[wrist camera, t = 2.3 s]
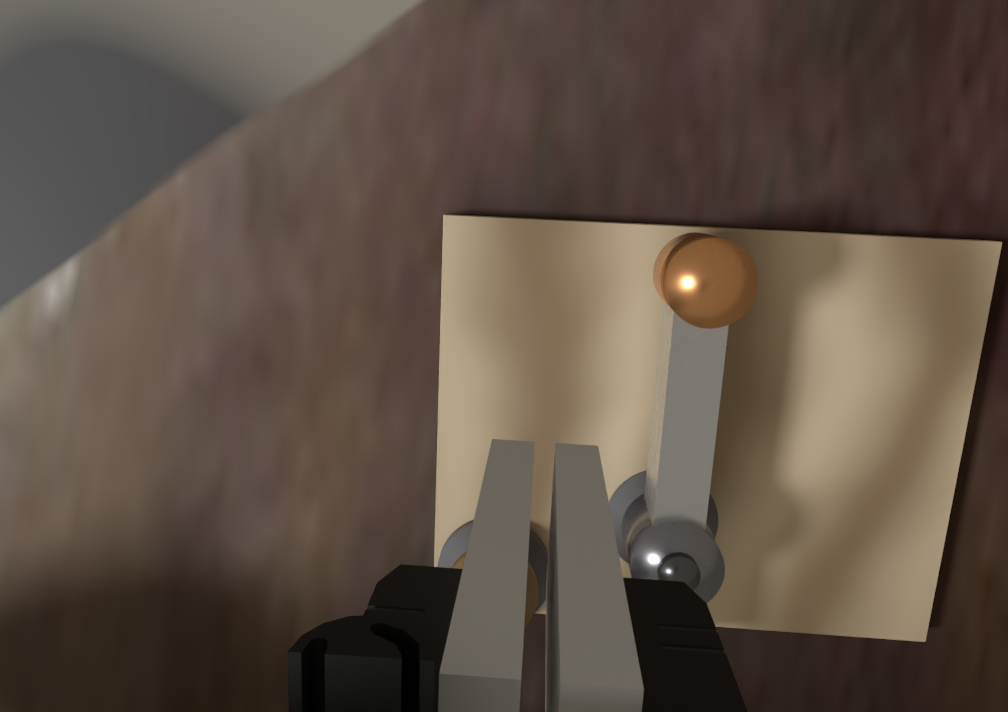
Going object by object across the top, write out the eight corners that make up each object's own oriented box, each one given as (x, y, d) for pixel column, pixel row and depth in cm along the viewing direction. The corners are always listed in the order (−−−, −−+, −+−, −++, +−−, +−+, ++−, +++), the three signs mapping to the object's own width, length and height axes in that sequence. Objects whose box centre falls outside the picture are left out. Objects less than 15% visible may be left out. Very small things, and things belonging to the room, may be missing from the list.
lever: (613, 627, 30) (622, 690, 26) (647, 228, 27) (663, 235, 23) (693, 633, 30) (713, 697, 26) (738, 232, 27) (770, 240, 23)
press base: (436, 601, 32) (418, 668, 28) (446, 214, 29) (428, 219, 24) (912, 636, 31) (972, 711, 27) (986, 240, 28) (1071, 250, 23)
